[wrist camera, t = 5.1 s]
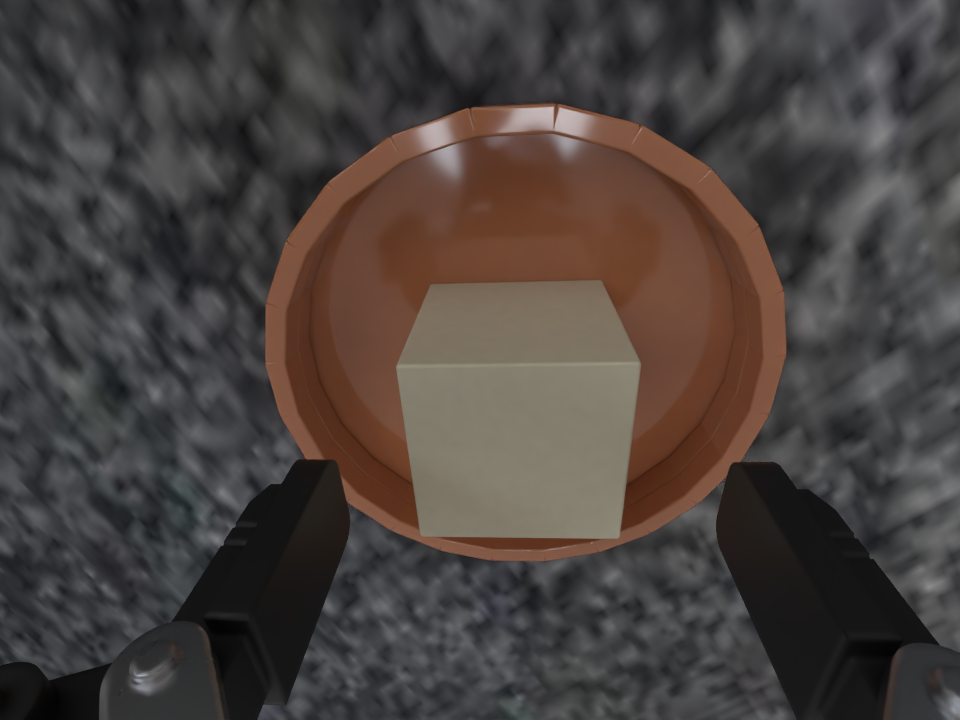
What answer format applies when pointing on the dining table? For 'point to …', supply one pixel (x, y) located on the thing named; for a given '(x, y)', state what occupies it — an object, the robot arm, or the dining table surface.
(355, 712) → the dining table surface
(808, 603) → the robot arm
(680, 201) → the terracotta dish
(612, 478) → the block
